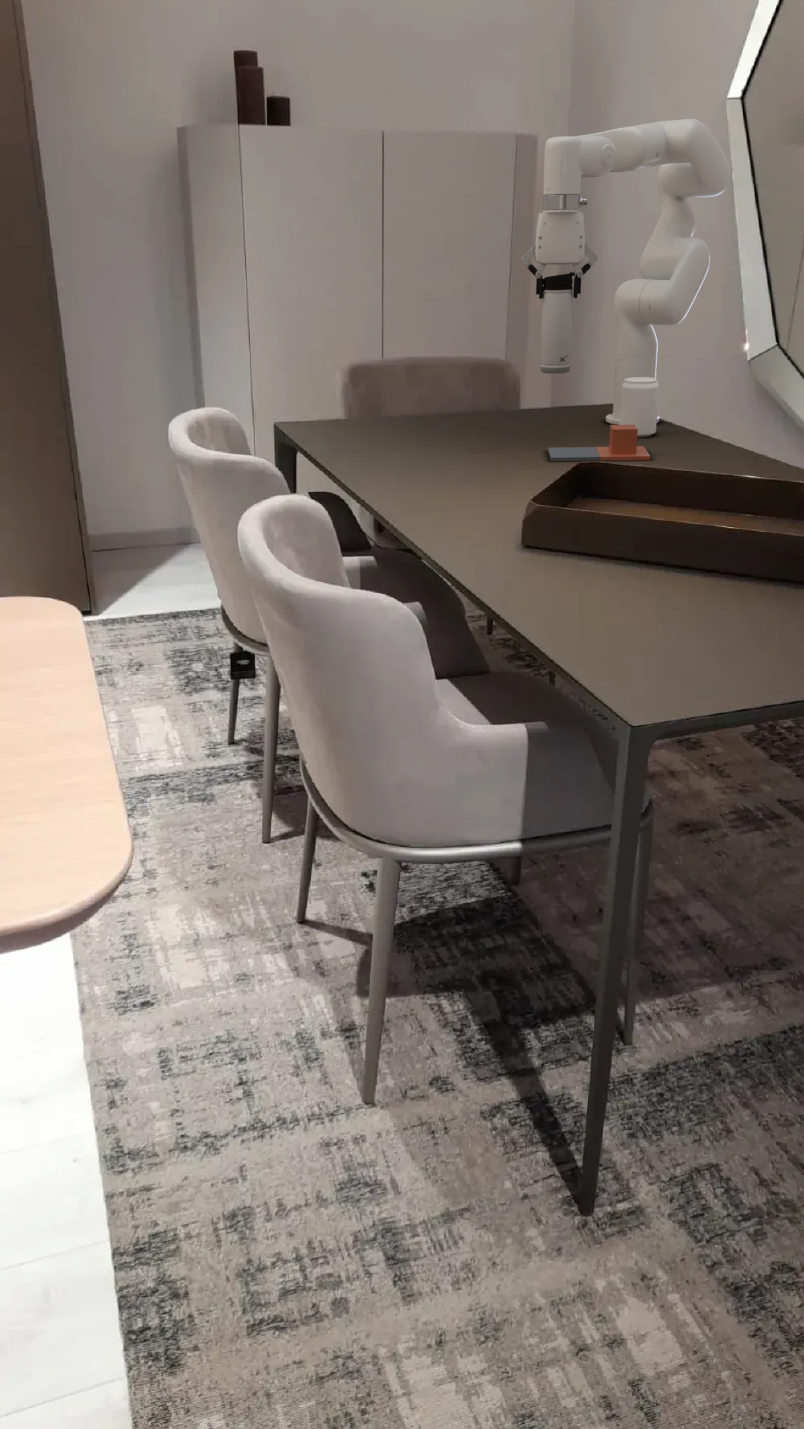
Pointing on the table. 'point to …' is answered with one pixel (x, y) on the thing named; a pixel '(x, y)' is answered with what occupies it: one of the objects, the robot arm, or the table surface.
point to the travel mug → (556, 323)
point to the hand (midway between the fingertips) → (558, 297)
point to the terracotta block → (623, 439)
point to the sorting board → (594, 454)
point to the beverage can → (640, 404)
